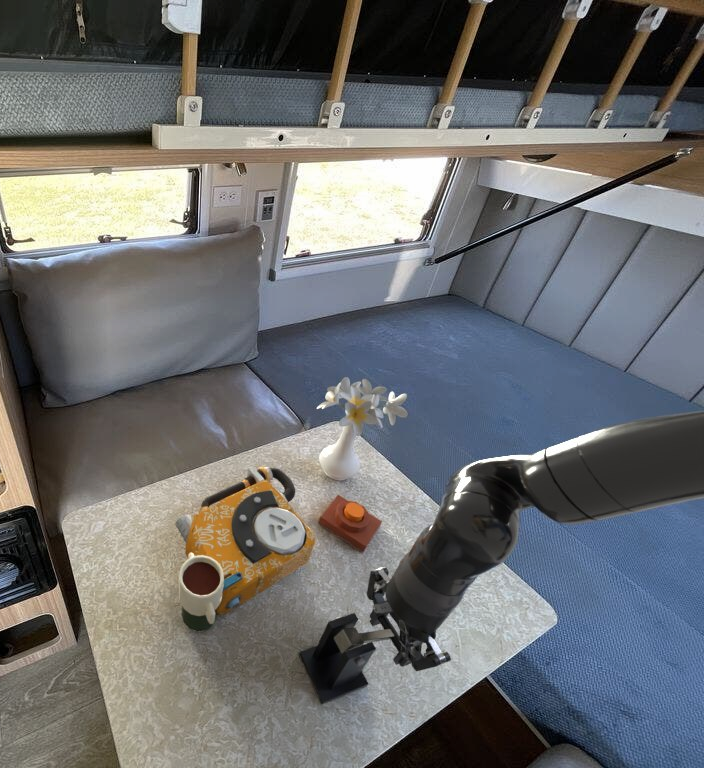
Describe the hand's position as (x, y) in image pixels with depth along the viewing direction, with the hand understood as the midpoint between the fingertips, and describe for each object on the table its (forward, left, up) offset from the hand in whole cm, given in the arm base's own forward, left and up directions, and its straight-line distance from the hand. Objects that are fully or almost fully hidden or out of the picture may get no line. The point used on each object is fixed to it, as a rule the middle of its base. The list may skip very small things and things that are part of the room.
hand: (387, 640), depth 64 cm
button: (+14, -19, -1) cm, 24 cm away
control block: (+14, -19, -4) cm, 24 cm away
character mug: (+26, +16, -4) cm, 31 cm away
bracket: (+4, +8, -4) cm, 10 cm away
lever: (+3, +5, +4) cm, 6 cm away
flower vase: (+23, -32, -4) cm, 40 cm away
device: (+28, -2, -4) cm, 29 cm away
